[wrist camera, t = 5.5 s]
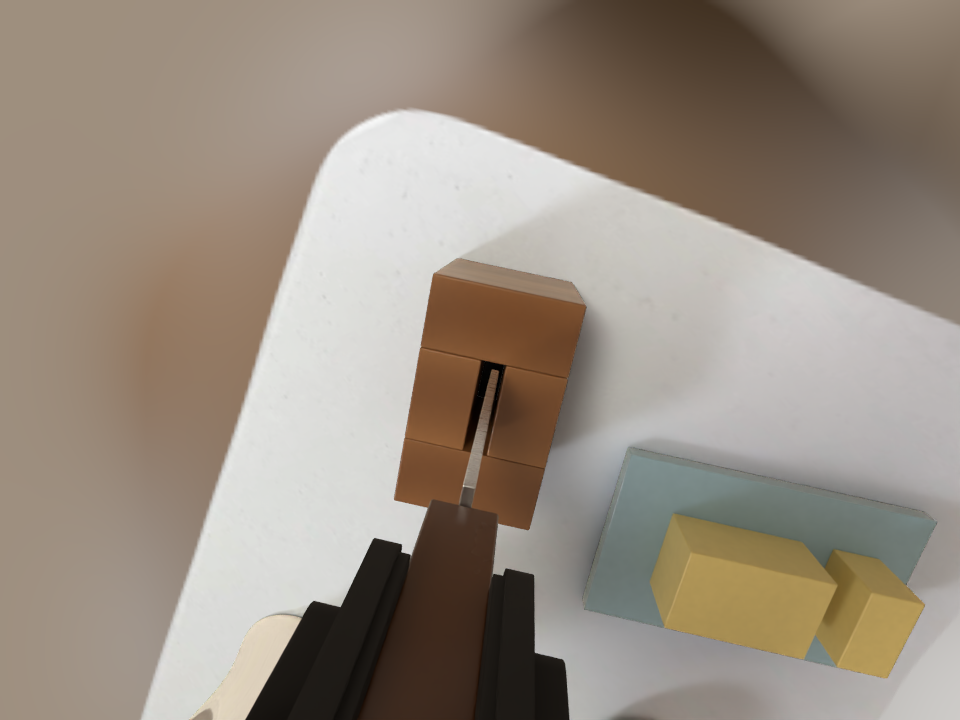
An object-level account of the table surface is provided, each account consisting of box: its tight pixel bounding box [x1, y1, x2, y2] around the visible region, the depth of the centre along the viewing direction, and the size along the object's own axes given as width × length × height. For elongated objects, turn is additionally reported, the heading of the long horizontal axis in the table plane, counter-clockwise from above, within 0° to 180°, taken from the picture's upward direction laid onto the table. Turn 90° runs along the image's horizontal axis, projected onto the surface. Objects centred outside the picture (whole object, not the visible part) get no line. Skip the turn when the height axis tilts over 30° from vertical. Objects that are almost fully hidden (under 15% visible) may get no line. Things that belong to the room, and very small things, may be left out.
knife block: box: [394, 258, 586, 530], centre depth 25 cm, size 10×6×7 cm, turn 169°
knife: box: [357, 369, 499, 720], centre depth 13 cm, size 3×2×17 cm, turn 169°
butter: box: [650, 513, 837, 659], centre depth 28 cm, size 4×7×4 cm, turn 79°
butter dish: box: [583, 447, 937, 673], centre depth 30 cm, size 10×16×1 cm, turn 79°
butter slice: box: [815, 549, 925, 678], centre depth 28 cm, size 4×2×4 cm, turn 169°
